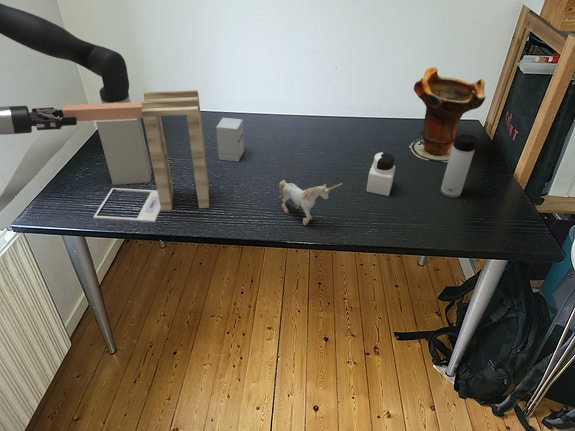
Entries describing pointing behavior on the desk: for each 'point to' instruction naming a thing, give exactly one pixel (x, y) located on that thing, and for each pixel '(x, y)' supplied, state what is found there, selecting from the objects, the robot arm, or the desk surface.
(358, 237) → the desk surface
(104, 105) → the bar
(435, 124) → the decorative vase
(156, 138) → the bridge
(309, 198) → the unicorn figurine
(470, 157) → the travel mug
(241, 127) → the supplement box
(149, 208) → the photo frame
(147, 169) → the post
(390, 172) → the medicine bottle
